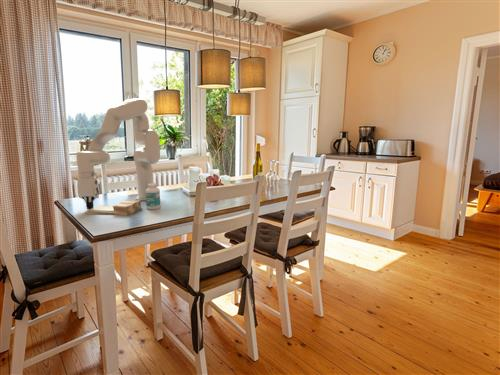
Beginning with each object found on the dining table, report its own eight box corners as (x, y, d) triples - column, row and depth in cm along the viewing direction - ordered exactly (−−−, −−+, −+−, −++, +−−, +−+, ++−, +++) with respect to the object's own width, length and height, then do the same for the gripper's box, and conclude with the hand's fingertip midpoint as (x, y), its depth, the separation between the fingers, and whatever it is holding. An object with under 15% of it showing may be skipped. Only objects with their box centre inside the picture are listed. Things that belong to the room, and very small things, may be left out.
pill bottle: (143, 209, 167) (141, 184, 165) (152, 206, 174) (150, 182, 171) (154, 210, 165) (153, 185, 162) (163, 207, 171) (162, 183, 169)
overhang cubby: (100, 207, 172) (99, 199, 171) (141, 208, 170) (140, 200, 169) (84, 214, 158) (83, 205, 157) (128, 215, 156) (128, 206, 155)
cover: (97, 209, 170) (96, 205, 169) (123, 209, 168) (123, 206, 168) (87, 213, 161) (87, 210, 160) (115, 214, 160) (114, 210, 159)
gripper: (104, 174, 164) (107, 207, 168) (78, 173, 166) (81, 206, 169) (95, 176, 157) (99, 211, 160) (68, 175, 159) (72, 210, 162)
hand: (90, 208), depth 165 cm, fingers closed
